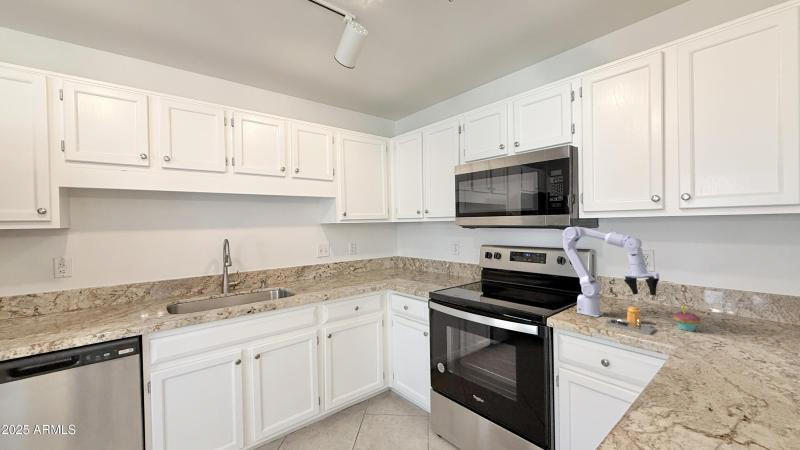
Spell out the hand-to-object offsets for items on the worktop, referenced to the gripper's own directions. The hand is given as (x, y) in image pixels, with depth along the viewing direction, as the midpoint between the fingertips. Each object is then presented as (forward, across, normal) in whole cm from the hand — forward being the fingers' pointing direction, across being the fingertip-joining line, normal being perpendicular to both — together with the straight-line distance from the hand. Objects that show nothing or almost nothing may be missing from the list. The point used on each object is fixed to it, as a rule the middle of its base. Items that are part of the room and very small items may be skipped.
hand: (644, 294), depth 141 cm
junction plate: (+12, +2, +10) cm, 16 cm away
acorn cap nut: (+12, +6, +2) cm, 14 cm away
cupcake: (+16, -8, -9) cm, 20 cm away
